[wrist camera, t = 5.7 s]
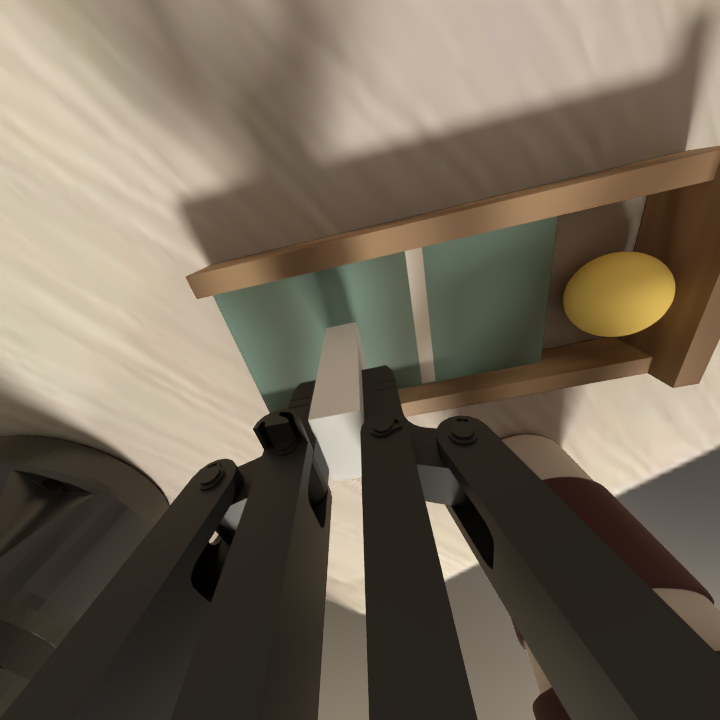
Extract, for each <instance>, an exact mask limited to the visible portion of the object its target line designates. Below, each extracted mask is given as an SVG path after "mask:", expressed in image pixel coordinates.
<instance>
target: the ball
mask: <svg viewBox="0 0 720 720" xmlns="http://www.w3.org/2000/svg"><path fill="white" fill-rule="evenodd" d="M674 295H675V280H674V277H673V275H672V273H671V271H670V270H669V268H668V267H667V266H666V265H665V264H664V263H663V262H661V261H660V260H658V259H657V258H655V257H653V256H650V255H647V254H644V253H640V252H631V251H625V252H616V253H610V254H606V255H603V256H600V257H598V258H596V259H594V260H592V261H590V262H588V263H587V264H585V265H584V266H582V267H581V268H580V269H579V270H578V271H577V272H576V273H575V274H574V275H573V276H572V277H571V279H570V280H569V282H568V283H567V286H566V288H565V291H564V295H563V306H564V310H565V313H566V315H567V317H568V318H569V320H570V321H571V322H572V323H573V324H574V325H575V326H576V327H578V328H579V329H581V330H583V331H585V332H587V333H590V334H593V335H597V336H603V337H618V336H625V335H630V334H633V333H636V332H639V331H641V330H643V329H645V328H648V327H649V326H651V325H652V324H654V323H655V322H656V321H658V320H659V319H660V318H661V317H662V316H663V315H664V314H665V313H666V311H667V310H668V309H669V307H670V306H671V304H672V301H673V299H674Z"/></svg>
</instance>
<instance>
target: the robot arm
mask: <svg viewBox="0 0 720 720" xmlns="http://www.w3.org/2000/svg"><path fill="white" fill-rule="evenodd" d="M253 430H254V432H255V434H256V436H257V437H258V439H259V441H260V443H261V445H262V447H263V448H264V452H263V455H262V456H261V457H259V458H257V459H255V460H253V461H250V462H248V463H246V464H244V465H241V466H239V467H237V466H236V464H235V463H234V462H233V461H232V460H229V459H221V460H217V461H214V462H212V463H210V464H208V465H207V466H205V467H204V468H202V469H201V470H200V471H199V472H198V473H197V474H196V475H195V476H194V477H193V478H192V479H191V480H190V481H189V483H188V484H187V485H186V486H185V488H184V489H183V490H182V491H181V493H180V494H179V495H178V496H177V498H176V499H175V500H174V501H173V503H172V504H171V505H170V506H169V505H168V502H167V501H166V499H165V497H164V496H163V495H162V493H161V492H160V491H159V490H158V488H157V487H156V486H155V485H154V484H153V483H151V482H150V481H149V480H148V479H147V478H146V477H144V476H143V475H142V474H140V473H139V472H138V471H136V470H135V469H133V468H132V467H130V466H128V465H127V464H125V463H123V462H121V461H119V460H117V459H115V458H113V457H111V456H109V455H107V454H104V453H102V452H100V451H97V450H94V449H92V448H89V447H86V446H82V445H79V444H76V443H72V442H68V441H63V440H58V439H53V438H46V437H37V436H8V437H0V720H318V706H319V690H320V675H321V658H322V644H323V627H324V613H325V597H326V582H327V566H328V551H329V535H330V520H331V504H332V496H331V491H330V488H329V486H328V477H329V473H330V476H331V478H332V481H333V482H336V481H342V480H348V479H354V478H361V477H362V504H363V536H364V567H365V599H366V630H367V659H368V660H367V662H368V693H369V720H477V715H476V711H475V707H474V703H473V699H472V695H471V691H470V686H469V682H468V679H467V674H466V670H465V666H464V661H463V657H462V653H461V649H460V645H459V640H458V636H457V632H456V628H455V624H454V620H453V616H452V611H451V607H450V603H449V599H448V594H447V590H446V586H445V582H444V578H443V574H442V569H441V565H440V561H439V557H438V553H437V549H436V544H435V540H434V536H433V532H432V528H431V524H430V519H429V515H428V511H427V507H426V503H425V501H428V502H434V503H440V504H445V505H446V507H447V509H448V511H449V512H450V514H451V516H452V517H453V519H454V521H455V523H456V524H457V526H458V528H459V529H460V531H461V533H462V535H463V536H464V538H465V540H466V541H467V543H468V545H469V546H470V548H471V550H472V552H473V553H474V555H475V557H476V558H477V560H478V562H479V563H480V565H481V567H482V569H483V570H484V572H485V574H486V575H487V577H488V579H489V580H490V582H491V584H492V586H493V587H494V589H495V591H496V592H497V594H498V596H499V598H500V599H501V601H502V602H503V604H504V606H505V608H506V609H507V611H508V613H509V615H510V616H511V618H512V620H513V621H514V623H515V625H516V627H517V628H518V630H519V632H520V633H521V635H522V637H523V638H524V640H525V642H526V644H527V645H528V647H529V649H530V650H531V652H532V654H533V655H534V657H535V659H536V661H537V662H538V664H539V666H540V667H541V669H542V671H543V673H544V674H545V676H546V678H547V679H548V681H549V683H550V684H551V686H552V688H553V690H554V691H555V693H556V695H557V696H558V698H559V700H560V701H561V703H562V705H563V707H564V708H565V710H566V712H567V713H568V715H569V717H570V719H571V720H720V656H719V655H718V654H717V653H716V652H715V651H714V650H713V649H712V648H711V647H710V646H709V645H708V644H707V643H706V642H705V641H704V640H703V639H702V638H701V637H700V636H699V635H698V634H697V633H696V632H695V631H694V630H693V629H692V628H691V627H690V626H689V625H688V624H687V623H686V622H685V621H684V620H683V619H682V618H681V617H680V616H679V615H678V614H677V613H676V612H675V611H674V610H673V609H672V608H671V607H670V606H669V605H668V604H667V603H666V602H665V601H664V600H663V599H662V598H661V597H660V596H659V595H658V594H657V593H656V592H655V591H654V590H653V589H652V588H651V587H650V586H649V585H648V584H647V583H646V582H645V581H644V580H643V579H642V578H641V577H640V576H639V575H637V574H636V573H635V572H634V571H633V570H632V569H631V568H630V567H629V566H628V565H627V564H626V563H625V562H624V561H623V560H622V559H621V558H620V557H619V556H618V555H617V554H616V553H615V552H614V551H613V550H612V549H611V548H610V547H609V546H608V545H607V544H606V543H605V542H604V541H603V540H602V539H601V538H600V537H599V536H598V535H597V534H596V533H595V532H594V531H593V530H592V529H591V528H590V527H589V526H588V525H587V524H586V523H585V522H584V521H583V520H582V519H581V518H580V517H579V516H578V515H577V514H576V513H575V512H574V511H573V510H572V509H571V508H570V507H569V506H568V505H567V504H566V503H565V502H564V501H563V500H562V499H561V498H560V497H559V496H558V495H556V494H555V493H554V492H553V491H552V490H551V489H550V488H549V487H548V486H547V485H546V484H545V483H544V482H543V481H542V480H541V479H540V478H539V477H538V476H537V475H536V474H535V473H534V472H533V471H532V470H531V469H530V468H529V467H528V466H527V465H526V464H525V463H524V462H523V461H522V460H521V459H520V458H519V457H518V456H517V455H516V454H515V453H514V452H513V451H512V450H511V449H510V448H509V447H508V446H507V445H506V444H505V443H504V442H503V441H502V440H501V439H500V438H499V437H498V436H497V435H496V434H495V433H494V432H493V431H492V430H491V429H490V428H489V427H488V426H487V425H485V424H484V423H483V422H481V421H480V420H478V419H475V418H472V417H469V416H455V417H450V418H448V419H446V420H444V421H442V422H441V423H440V425H439V426H438V427H437V429H435V428H425V427H419V426H417V425H414V424H412V423H411V422H409V421H408V420H407V419H406V418H405V416H404V414H403V410H402V406H401V402H400V398H399V394H398V389H397V385H396V381H395V377H394V373H393V371H392V370H391V369H390V368H389V367H388V366H387V365H384V366H379V367H374V368H369V369H368V367H367V363H366V359H365V355H364V351H363V346H362V342H361V338H360V334H359V330H358V325H357V322H353V323H348V324H344V325H339V326H334V327H329V328H326V333H325V338H324V343H323V348H322V353H321V358H320V363H319V368H318V373H317V378H316V380H313V381H308V382H303V383H300V384H299V385H298V386H297V388H296V389H295V390H294V391H293V394H292V397H291V402H290V403H289V407H288V409H280V410H277V411H274V412H271V413H269V414H268V415H266V416H264V417H263V418H262V419H261V420H260V421H258V422H257V424H256V425H255V427H254V428H253ZM215 531H216V532H217V533H218V534H219V535H218V536H217V538H216V539H215V540H214V541H213V542H212V543H209V540H210V539H211V537H212V535H213V534H214V532H215Z"/></svg>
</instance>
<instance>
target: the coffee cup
mask: <svg viewBox="0 0 720 720" xmlns="http://www.w3.org/2000/svg"><path fill="white" fill-rule="evenodd" d="M502 441H503V442H504V443H505V444H506V445H507V446H508V447H509V448H510V449H511V450H512V451H513V452H514V453H515V454H516V455H517V456H518V457H519V458H520V459H521V460H522V461H523V462H524V463H525V464H526V465H527V466H528V467H529V468H530V469H531V470H532V471H533V472H534V473H535V474H536V475H537V476H538V477H539V478H540V479H541V480H542V481H543V482H544V483H545V484H546V485H547V486H548V487H549V488H550V489H551V490H552V491H553V492H554V493H555V494H556V495H558V496H559V497H560V498H561V499H562V500H563V501H564V502H565V503H566V504H567V505H568V506H569V507H570V508H571V509H572V510H573V511H574V512H575V513H576V514H577V515H578V516H579V517H580V518H581V519H582V520H583V521H584V522H585V523H586V524H587V525H588V526H589V527H590V528H591V529H592V530H593V531H594V532H595V533H596V534H597V535H598V536H599V537H600V538H601V539H602V540H603V541H604V542H605V543H606V544H607V545H608V546H609V547H610V548H611V549H612V550H613V551H614V552H615V553H616V554H617V555H618V556H619V557H620V558H621V559H622V560H623V561H624V562H625V563H626V564H627V565H628V566H629V567H630V568H631V569H632V570H633V571H634V572H635V573H636V574H637V575H639V576H640V577H641V578H642V579H643V580H644V581H645V582H646V583H647V584H648V585H649V586H650V587H651V588H652V589H653V590H654V591H655V592H656V593H657V594H658V595H659V596H660V597H661V598H662V599H663V600H664V601H665V602H666V603H667V604H668V605H669V606H670V607H671V608H672V609H673V610H674V611H675V612H676V613H677V614H678V615H679V616H680V617H681V618H682V619H683V620H684V621H685V622H686V623H687V624H688V625H689V626H690V627H691V628H692V629H693V630H694V631H695V632H696V633H697V634H698V635H699V636H700V637H701V638H702V639H703V640H704V641H705V642H706V643H707V644H708V645H709V646H710V647H711V648H712V649H713V650H714V651H715V652H716V653H717V654H718V655H719V656H720V611H719V610H718V609H717V608H716V607H715V606H714V600H713V598H712V596H711V595H710V594H709V593H708V591H707V590H706V589H705V588H704V587H703V586H702V585H701V584H700V583H699V582H698V581H697V580H696V579H695V578H694V577H693V576H692V575H691V574H690V573H689V572H688V571H687V570H686V569H685V568H684V567H683V566H682V565H681V564H680V563H679V562H678V561H677V560H676V559H675V557H673V556H672V554H670V552H669V551H668V550H667V549H666V548H664V546H663V545H662V544H661V543H660V542H659V541H658V540H656V538H655V537H654V536H653V535H652V534H651V533H650V532H649V531H648V530H647V529H646V528H645V527H644V526H643V525H642V524H641V523H640V522H639V521H638V520H637V519H636V518H635V517H634V516H633V515H632V514H631V513H630V512H629V511H628V510H627V509H626V508H625V507H624V506H623V505H622V504H621V503H620V502H619V501H618V500H617V499H616V498H615V497H614V496H613V495H612V494H611V493H610V492H609V491H608V490H607V489H606V488H605V487H603V486H602V485H601V484H599V483H597V482H595V481H593V480H592V479H591V478H590V477H589V476H588V475H587V474H586V472H585V471H584V470H583V469H582V468H581V467H580V466H579V465H578V464H577V463H576V462H575V461H574V460H573V459H572V458H571V457H570V456H569V455H568V454H567V453H566V452H565V451H564V450H563V449H562V448H561V447H560V446H559V445H558V444H557V443H555V442H554V441H552V440H551V439H548V438H546V437H542V436H538V435H516V436H512V437H508V438H505V439H502ZM511 619H512V618H511ZM512 622H513V625H514V628H515V632H516V635H517V637H518V640H519V642H520V644H521V646H522V647H523V648H524V649H526V651H527V654H528V657H529V660H530V663H531V666H532V669H533V672H534V675H535V678H536V681H537V684H538V687H539V690H540V692H541V694H540V695H539V696H538V698H537V699H536V700H535V701H534V703H533V712H534V715H535V718H536V720H571V719H570V717H569V715H568V713H567V712H566V710H565V708H564V707H563V705H562V703H561V701H560V700H559V698H558V696H557V695H556V693H555V691H554V690H553V688H552V686H551V684H550V683H549V681H548V679H547V678H546V676H545V674H544V673H543V671H542V669H541V667H540V666H539V664H538V662H537V661H536V659H535V657H534V655H533V654H532V652H531V650H530V649H529V647H528V645H527V644H526V642H525V640H524V638H523V637H522V635H521V633H520V632H519V630H518V628H517V627H516V625H515V623H514V621H513V620H512Z"/></svg>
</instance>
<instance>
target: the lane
mask: <svg viewBox="0 0 720 720" xmlns="http://www.w3.org/2000/svg"><path fill="white" fill-rule="evenodd" d="M646 195H648V198H647V202H646V206H645V210H644V214H643V218H642V222H641V226H640V230H639V234H638V238H637V242H636V246H635V250H634V252H640V253H644V254H647V255H650V256H653V257H655V258H657V259H658V260H660V261H661V262H663V263H664V264H665V265H666V266H667V267H668V268H669V270H670V271H671V273H672V275H673V277H674V280H675V295H674V299H673V301H672V304H671V306H670V307H669V309H668V310H667V311H666V313H665V314H664V315H663V316H662V317H661V318H660V319H659V320H658V321H656V322H655V323H654V324H652V325H651V326H649V327H648V328H645V329H643V330H641V331H639V332H636V333H633V334H630V335H625V336H618V337H607V338H602V339H596V340H591V341H586V342H581V343H576V344H571V345H565V346H560V347H555V348H550V349H545V350H542V347H543V338H544V329H545V321H546V312H547V304H548V295H549V287H550V278H551V269H552V261H553V252H554V244H555V235H556V226H557V218H558V216H559V215H563V214H568V213H572V212H576V211H581V210H585V209H589V208H594V207H598V206H602V205H607V204H611V203H615V202H620V201H624V200H629V199H633V198H637V197H642V196H646ZM186 279H187V281H188V283H189V285H190V287H191V289H192V291H193V293H194V294H195V296H196V298H197V299H199V298H203V297H208V296H212V295H213V297H214V299H215V301H216V303H217V305H218V307H219V309H220V311H221V313H222V315H223V317H224V319H225V321H226V323H227V326H228V328H229V330H230V332H231V334H232V336H233V338H234V340H235V342H236V344H237V346H238V348H239V350H240V352H241V354H242V357H243V359H244V361H245V363H246V365H247V367H248V369H249V371H250V373H251V375H252V377H253V379H254V381H255V383H256V385H257V388H258V390H259V392H260V394H261V396H262V398H263V400H264V402H265V404H266V406H267V408H268V410H269V412H270V413H271V412H274V411H277V410H280V409H288V407H289V403H290V402H291V397H292V394H293V391H294V390H295V389H296V388H297V386H298V385H299V384H300V383H303V382H308V381H313V380H316V378H317V373H318V368H319V363H320V358H321V353H322V348H323V343H324V338H325V333H326V328H329V327H334V326H339V325H344V324H348V323H353V322H357V325H358V330H359V334H360V338H361V342H362V346H363V351H364V355H365V359H366V363H367V367H368V369H369V368H374V367H379V366H384V365H387V366H388V367H389V368H390V369H391V370H392V371H393V373H394V377H395V381H396V385H397V389H398V394H399V398H400V402H401V406H402V410H403V414H404V416H405V417H407V416H413V415H418V414H424V413H430V412H435V411H441V410H446V409H452V408H457V407H463V406H468V405H474V404H479V403H485V402H490V401H496V400H501V399H507V398H512V397H518V396H523V395H529V394H534V393H540V392H545V391H551V390H556V389H562V388H567V387H573V386H579V385H584V384H590V383H595V382H601V381H606V380H612V379H617V378H623V377H628V376H634V375H639V374H645V373H648V374H650V375H652V376H653V377H655V378H657V379H659V380H660V381H662V382H664V383H665V384H667V385H669V386H671V387H672V388H676V387H682V386H687V385H693V384H699V383H700V380H701V378H702V376H703V374H704V372H705V370H706V367H707V365H708V363H709V361H710V359H711V356H712V354H713V352H714V350H715V348H716V346H717V343H718V341H719V339H720V146H715V147H708V148H702V149H695V150H688V151H683V152H679V153H675V154H671V155H667V156H662V157H658V158H654V159H650V160H646V161H642V162H637V163H633V164H629V165H625V166H621V167H617V168H612V169H608V170H604V171H600V172H596V173H592V174H587V175H583V176H579V177H575V178H571V179H567V180H562V181H558V182H554V183H550V184H546V185H542V186H537V187H533V188H529V189H525V190H521V191H517V192H513V193H508V194H504V195H500V196H496V197H492V198H488V199H483V200H479V201H475V202H471V203H467V204H463V205H458V206H454V207H450V208H446V209H442V210H438V211H433V212H429V213H425V214H421V215H417V216H413V217H408V218H404V219H400V220H396V221H392V222H388V223H383V224H379V225H375V226H371V227H367V228H363V229H359V230H354V231H350V232H346V233H342V234H338V235H334V236H329V237H325V238H321V239H317V240H313V241H309V242H304V243H300V244H296V245H292V246H288V247H284V248H279V249H275V250H271V251H267V252H263V253H259V254H254V255H250V256H246V257H242V258H238V259H234V260H229V261H225V262H221V263H217V264H213V265H210V266H208V267H206V268H204V269H201V270H199V271H197V272H195V273H193V274H191V275H188V276H186Z"/></svg>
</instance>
